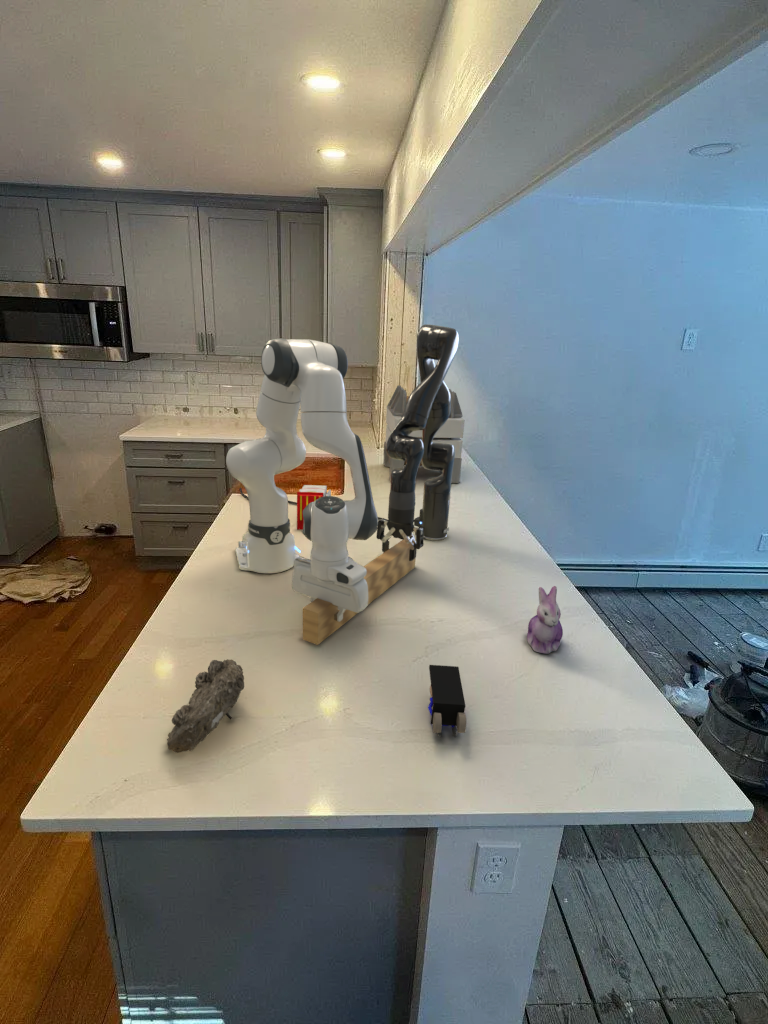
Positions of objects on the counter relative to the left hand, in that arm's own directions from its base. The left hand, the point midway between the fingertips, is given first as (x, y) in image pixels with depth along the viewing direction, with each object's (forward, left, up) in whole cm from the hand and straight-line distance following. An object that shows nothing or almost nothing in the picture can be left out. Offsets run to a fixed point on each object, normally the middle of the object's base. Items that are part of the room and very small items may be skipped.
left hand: (328, 616), depth 139 cm
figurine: (+30, +43, -3) cm, 53 cm away
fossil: (+19, -33, -3) cm, 38 cm away
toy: (-73, +28, -3) cm, 78 cm away
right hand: (-18, +31, +3) cm, 36 cm away
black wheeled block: (+40, +6, -3) cm, 40 cm away
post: (-9, +15, -3) cm, 18 cm away
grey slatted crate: (-108, +100, -3) cm, 147 cm away
